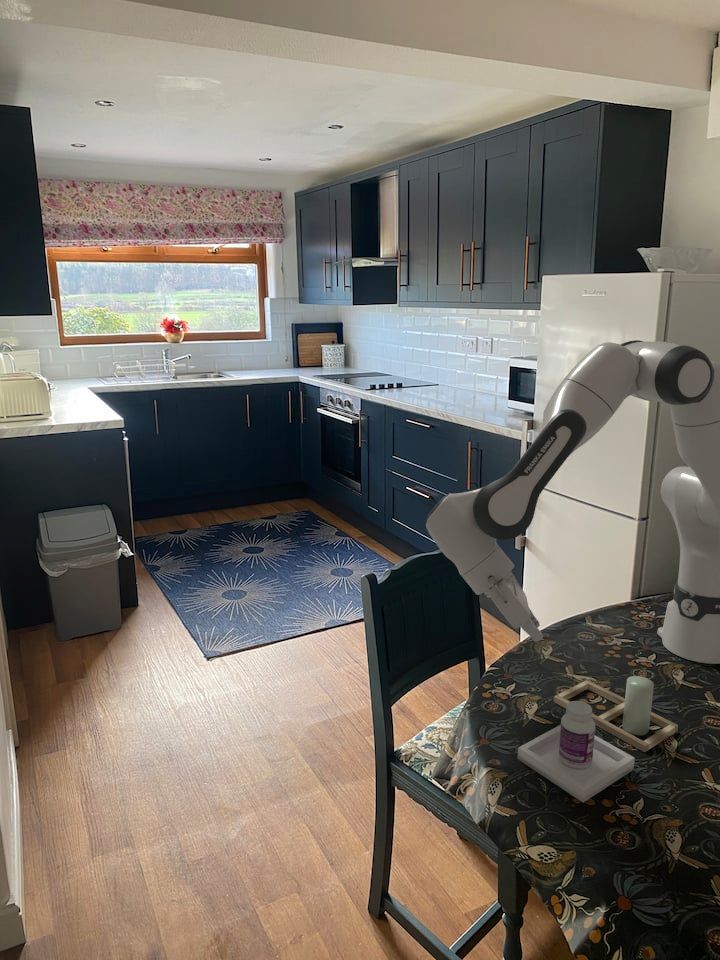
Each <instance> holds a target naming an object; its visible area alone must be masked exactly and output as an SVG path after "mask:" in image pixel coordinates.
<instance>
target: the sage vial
mask: <svg viewBox="0 0 720 960" xmlns="http://www.w3.org/2000/svg"><path fill="white" fill-rule="evenodd" d="M654 688H655V683H654V682H653V680H651V679H649V678H647V677H644V676H642V675H641V676H640V675H633V676H629V677H627V678H626V685H625V695H624V696H625V697H624V698H625V704H624V713H623V714H622V715H623V716H622V725H621V726H622V730H624V731H626V732H628V733H629V734H631V735H633V736H645V735H648V733H649V732H650V724H651V723H650V722H651V721H650V716H651V712H652V704H653V698H654Z"/></svg>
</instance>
